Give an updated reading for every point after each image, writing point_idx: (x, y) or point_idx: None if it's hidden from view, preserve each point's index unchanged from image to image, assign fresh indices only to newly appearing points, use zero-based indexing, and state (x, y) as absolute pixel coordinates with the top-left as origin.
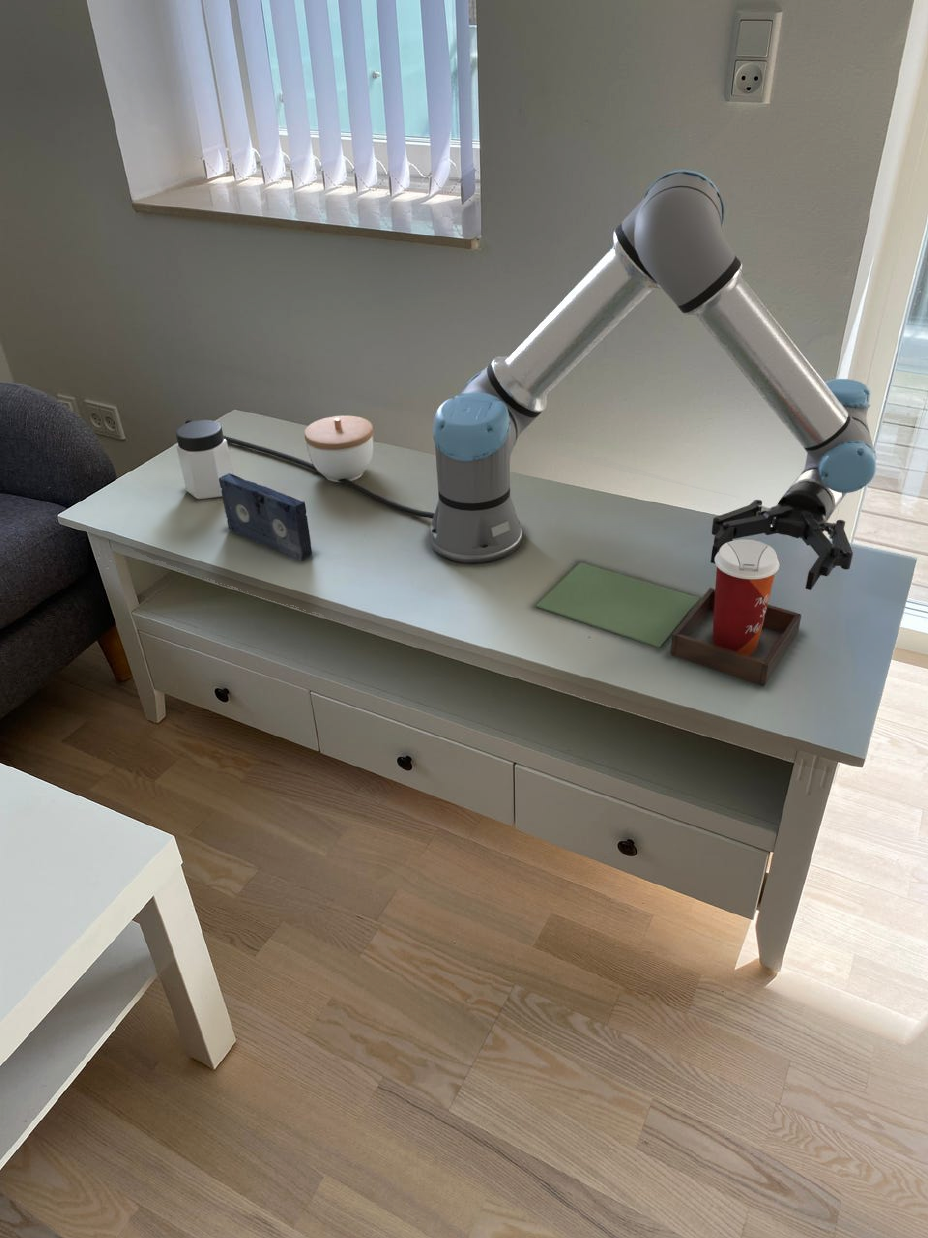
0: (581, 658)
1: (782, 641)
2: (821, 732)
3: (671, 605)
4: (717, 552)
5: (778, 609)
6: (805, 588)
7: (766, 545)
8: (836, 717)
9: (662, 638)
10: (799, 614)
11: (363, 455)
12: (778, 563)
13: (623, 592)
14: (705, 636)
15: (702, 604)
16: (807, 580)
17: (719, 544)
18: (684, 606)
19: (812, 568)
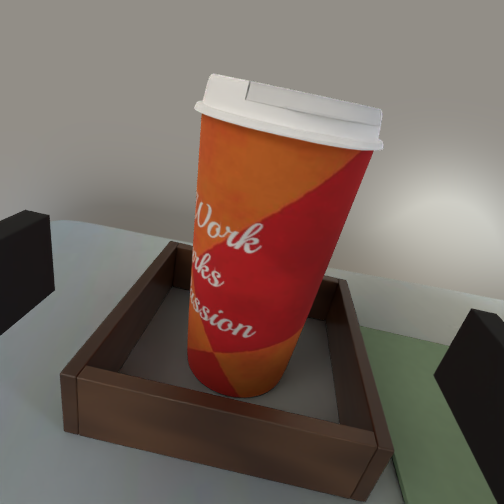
0: (428, 299)
1: (140, 280)
2: (90, 232)
3: (448, 462)
4: (460, 337)
5: (141, 381)
6: (54, 289)
7: (257, 82)
8: (57, 247)
9: (369, 342)
10: (68, 370)
11: None
12: (198, 102)
13: None
14: (303, 372)
15: (357, 367)
16: (50, 253)
17: (490, 329)
18: (418, 469)
19: (17, 226)
